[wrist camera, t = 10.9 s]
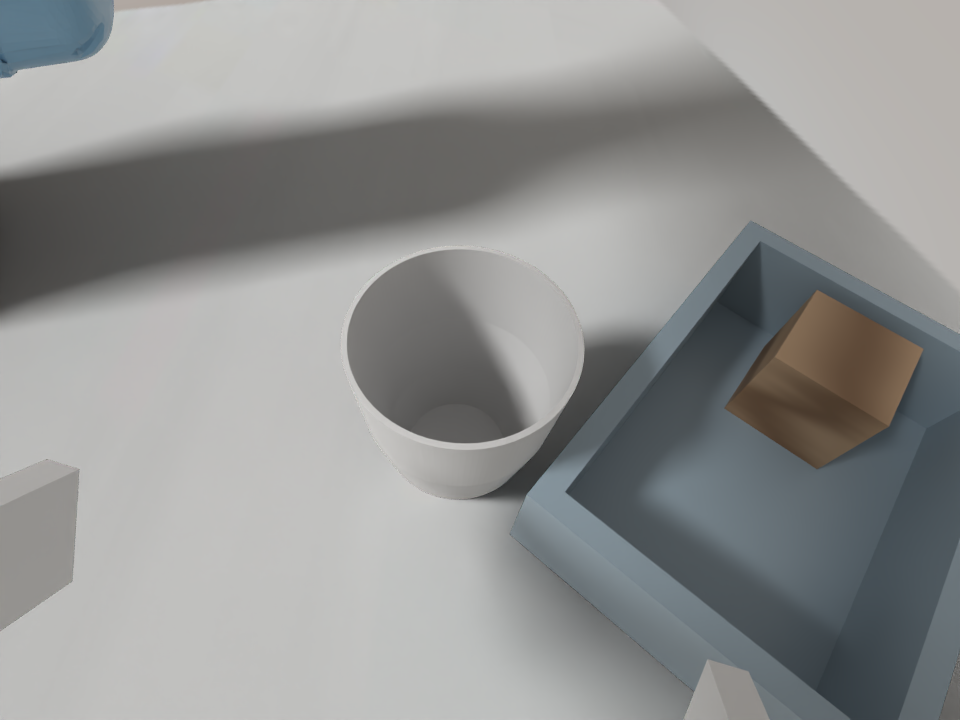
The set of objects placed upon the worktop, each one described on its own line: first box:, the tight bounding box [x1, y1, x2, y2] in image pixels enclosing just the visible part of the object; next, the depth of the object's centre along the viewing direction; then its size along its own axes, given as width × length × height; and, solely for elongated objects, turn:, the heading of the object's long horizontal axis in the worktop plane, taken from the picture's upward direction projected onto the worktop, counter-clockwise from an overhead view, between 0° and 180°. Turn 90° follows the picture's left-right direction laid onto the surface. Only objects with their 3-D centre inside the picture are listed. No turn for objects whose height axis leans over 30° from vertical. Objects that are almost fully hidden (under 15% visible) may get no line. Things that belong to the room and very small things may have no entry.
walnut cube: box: [724, 290, 923, 469], centre depth 26 cm, size 5×5×5 cm
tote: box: [510, 221, 960, 720], centre depth 24 cm, size 14×19×6 cm
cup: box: [340, 245, 584, 499], centre depth 23 cm, size 8×8×10 cm
